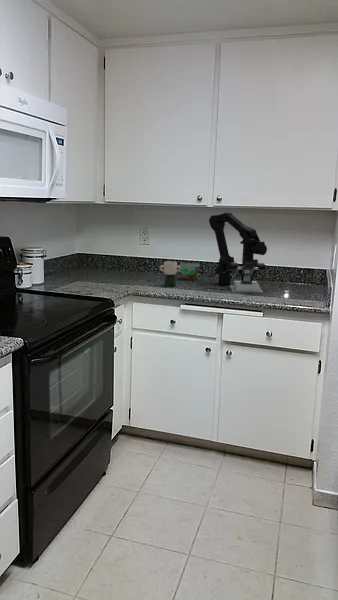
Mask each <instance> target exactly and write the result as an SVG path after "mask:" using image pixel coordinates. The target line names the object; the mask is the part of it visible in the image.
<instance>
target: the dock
mask: <svg viewBox="0 0 338 600" xmlns="http://www.w3.org/2000/svg"><path fill="white" fill-rule="evenodd" d="M229 287H230V290H231V291H232V293H251V294H252V293H262V294H264V291H263V289H262V288H261V286H260V284H259V283H258V282H257V281H256V280H252V282H251V284H242V281H241V280H234V281H233V285H232V284H230V285H229Z"/></svg>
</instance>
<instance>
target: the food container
mask: <svg viewBox="0 0 338 600" xmlns="http://www.w3.org/2000/svg"><path fill="white" fill-rule="evenodd" d="M179 266H180V273H181V274H180V275H181V280H183V281H197V280H198V275H199V267H200V262H197V263H191V262H182V261H180V262H179Z"/></svg>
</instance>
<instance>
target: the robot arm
mask: <svg viewBox="0 0 338 600" xmlns="http://www.w3.org/2000/svg"><path fill="white" fill-rule="evenodd" d="M208 222H209V225H210V228H211V229H212V230H213V232H214V235H215V239H216V242H217V249H218V251H219V260H218V266H217V267H216V268H215V274H217V285H218V286H230V285H231V283H232V282H231V280H232V279H231V278H232V277H231V274H233V272H234V270H235V271H237V272H238V274H239V278H240V281H242V282H243V269H244V270H248V269H251V282H252V281H254V280H253V279H254V276H255V275H256V273H257V272H259V271H262V270H263V271H266V269H267V267H266V266H267V265H266V264H265V263H264V262H259V260H258V259H256V258H255V259H254V256H255V255H260V256H265V254H267V252H268V247H267V245H266V243H265V241H261V240H260V237H259V235H258V233H257V230H256V229H254V227H253V228H252V227H251V226H248V225H246V224H244V223H243V222H242V221H240V220H239V219H238V218H237V217H236V216H234V215H233V212H232V213H231V212H224V213H221V214H213V215H210V217H209V219H208ZM226 223H228V224H229V225H230V226H231V227H232V228H233V229H235V230H236V231H237V232H238V234H239V237H240V238H241V239H242V240H241V241H240V242H239V244H240V245H242V258H241V259H242V260H241V262H242V263H238V262H235V257H233V256H230V253H229V249H228V244H227V239H226V236H225V231H224V229H225V226H226Z"/></svg>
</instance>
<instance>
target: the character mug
mask: <svg viewBox="0 0 338 600" xmlns="http://www.w3.org/2000/svg"><path fill="white" fill-rule="evenodd" d="M159 269H160V272H163V273H164V274H165V277H164V282H163V284H164V286H167V287H168V286H169V287H171V286H172V287H173V286H175V285H177V283H176V276H175V275H176V274H177V272H178V273H179V272H180V273H181V266H180V265H178V262H177V261H173V260H171V261H164V262H163V264H160V267H159Z"/></svg>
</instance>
